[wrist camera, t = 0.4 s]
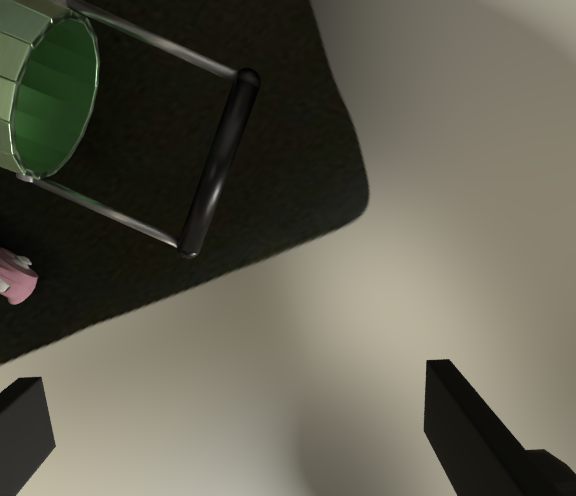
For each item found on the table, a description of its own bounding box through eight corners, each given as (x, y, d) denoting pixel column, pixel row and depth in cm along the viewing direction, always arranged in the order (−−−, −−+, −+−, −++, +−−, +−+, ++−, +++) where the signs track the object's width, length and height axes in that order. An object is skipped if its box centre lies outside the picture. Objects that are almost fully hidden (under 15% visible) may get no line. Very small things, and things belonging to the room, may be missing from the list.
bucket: (-206, 148, 20) (189, 279, 25) (-216, -154, 16) (265, 72, 20) (-49, 130, 30) (209, 225, 35) (-30, -57, 26) (263, 79, 30)
